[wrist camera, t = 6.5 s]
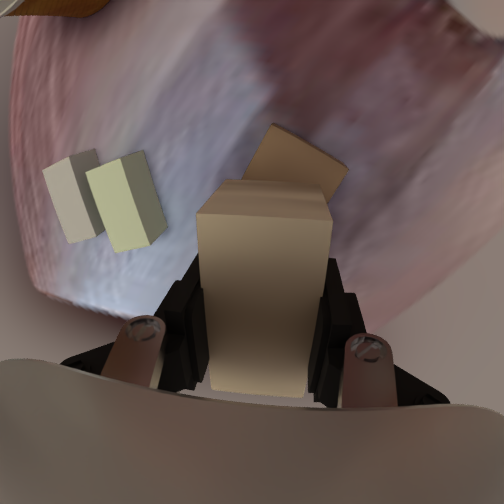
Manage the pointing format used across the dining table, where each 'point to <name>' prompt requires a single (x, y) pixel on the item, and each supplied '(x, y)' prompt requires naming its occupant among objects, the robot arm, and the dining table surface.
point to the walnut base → (294, 162)
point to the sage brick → (127, 202)
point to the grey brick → (75, 196)
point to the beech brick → (262, 282)
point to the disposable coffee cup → (51, 7)
